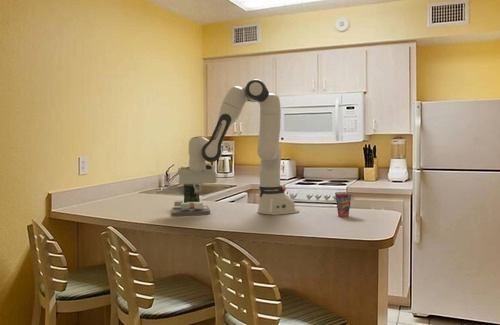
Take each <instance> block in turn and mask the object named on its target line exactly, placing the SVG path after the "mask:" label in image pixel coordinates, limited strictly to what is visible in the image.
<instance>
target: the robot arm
mask: <svg viewBox="0 0 500 325" xmlns="http://www.w3.org/2000/svg"><path fill="white" fill-rule="evenodd" d="M247 102H251V103H258V104H259V132H258V137H257V138H258V140H257V141H258V142H257V152H256V153H257V156H258V157H259V158H260V164H259V165H260V168H259V188H258V196H259V200H258V201H259V202H258V207H257V213H258V214H262V215H264V214H265V215H271V216H272V215H273V216H276V215H287V214H298V213H300V210H299V209H298V208H297V207H296V206H295V201H294V200H293V199H292V198H291V197H290V196H289V195H287V193H285V192H286V191H287V188H286V186H285V187H284V186H282V185H281V159H282V156H281V155H282V147H281V145H280V144H279V143H280V135H281V134H280V133H281V132H280V131H281V114H282V113H281V101H280V97H279V96H278V95H277V94H275V93H269V89H268V87H267V86H266V84H265V83H264V82H263V81H262V80H260V79H258V78H257V79H256V78H255V79H254V78H253V79H250V81H248V82H247V84H246V86H244V87H241V86H237V85H235V86H232V87H230V88H229V90H228V91H227V93H226V95H225V96H224V98H223V100H222V103H221V105H220V108H219V112H218V117H217V122H216V125H215V128H214V130H213V132H212V134H211V136H210V139H207V138H206V137H204V136H200V135H199V136H195V137H192V138H190V139H189V142H188V156H189V158H188V166H181V167H179V168H178V170H177V174H178V183H179V185H183V184H193V186H194V188H195V192H199V193H202V188H203V184H216V182H217V180H218V179H217V175H216V174H217V173H216V171H215V170H214V168H215V166H214V165H213V164H210V163H215V162H216V161H218V160H219V159H220V158H221V156H222V155H223V148H222V143H223V141H224V139H225V137H226V135H227V132H228V130H229V129H230V127H231V126H232V125H234V123H235V122H236V121H237V120H238V118H239V116H240V115H241V113H242V111H243V108H244V106H245V104H246V103H247ZM206 162H208V163H206ZM196 184H199V189H196V187H195V186H196Z"/></svg>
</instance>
